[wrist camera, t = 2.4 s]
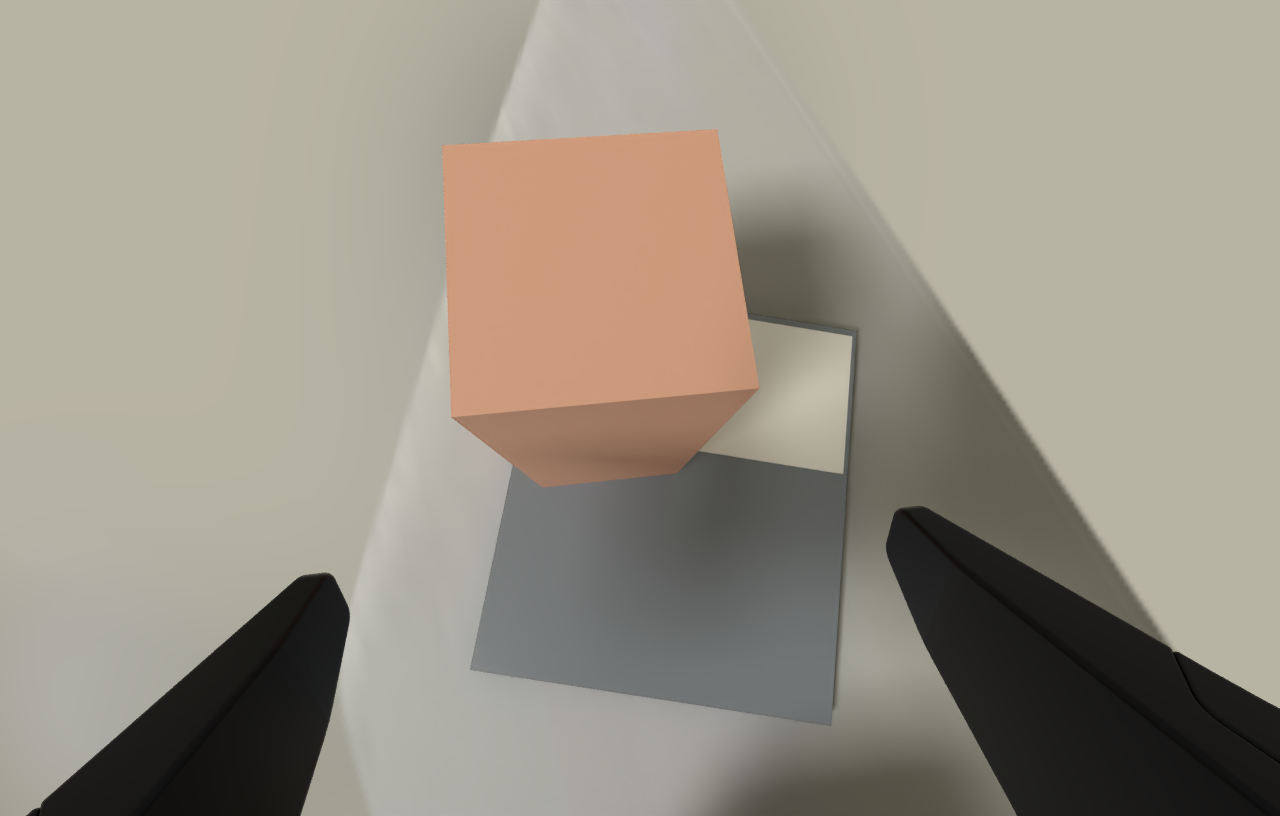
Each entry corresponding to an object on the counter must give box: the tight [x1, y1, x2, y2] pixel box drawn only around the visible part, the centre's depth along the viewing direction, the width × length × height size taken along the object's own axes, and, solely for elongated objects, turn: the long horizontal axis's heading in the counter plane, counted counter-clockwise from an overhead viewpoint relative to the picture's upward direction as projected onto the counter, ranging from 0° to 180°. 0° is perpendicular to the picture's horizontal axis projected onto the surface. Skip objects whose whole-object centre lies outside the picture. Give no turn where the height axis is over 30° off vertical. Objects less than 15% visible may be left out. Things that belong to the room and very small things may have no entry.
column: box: [442, 129, 759, 488], centre depth 15 cm, size 5×5×12 cm
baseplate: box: [470, 313, 857, 726], centre depth 21 cm, size 15×12×1 cm
